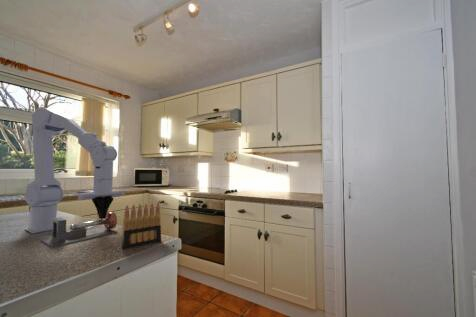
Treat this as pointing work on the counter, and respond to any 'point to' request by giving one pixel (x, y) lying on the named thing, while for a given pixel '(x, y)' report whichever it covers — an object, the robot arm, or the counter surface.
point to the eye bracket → (72, 234)
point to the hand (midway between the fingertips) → (102, 218)
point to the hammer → (98, 222)
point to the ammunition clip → (135, 229)
